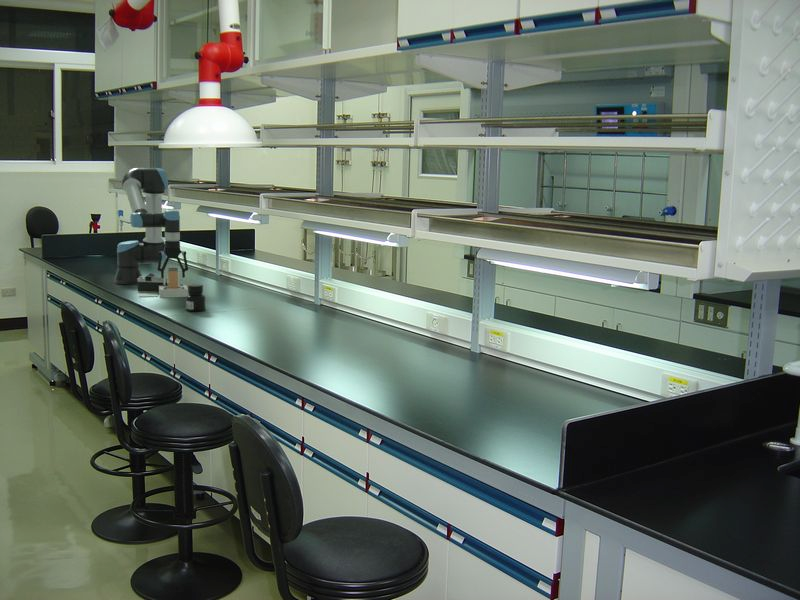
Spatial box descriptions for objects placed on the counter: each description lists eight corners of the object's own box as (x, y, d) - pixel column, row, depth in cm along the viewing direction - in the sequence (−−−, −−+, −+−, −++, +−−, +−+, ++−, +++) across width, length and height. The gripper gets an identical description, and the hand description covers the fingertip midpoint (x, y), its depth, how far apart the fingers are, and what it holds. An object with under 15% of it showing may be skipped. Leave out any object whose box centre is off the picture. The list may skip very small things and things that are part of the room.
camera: (171, 290, 432) (170, 272, 431) (166, 293, 424) (165, 274, 422) (142, 289, 433) (141, 271, 431) (136, 292, 424) (135, 273, 423)
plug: (168, 294, 421) (168, 267, 419) (177, 294, 422) (177, 267, 420) (168, 295, 417) (168, 269, 414) (178, 295, 418) (177, 268, 416)
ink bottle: (184, 308, 382) (184, 284, 380) (203, 308, 385) (203, 283, 383) (187, 312, 373) (187, 287, 371) (206, 311, 376) (206, 286, 374)
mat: (139, 294, 418) (138, 293, 418) (157, 293, 421) (157, 293, 421) (139, 297, 410) (139, 296, 410) (157, 296, 413) (157, 296, 413)
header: (158, 293, 424) (158, 284, 423) (186, 292, 428) (186, 283, 427) (159, 297, 411) (159, 288, 410) (188, 296, 415) (187, 287, 414)
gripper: (151, 241, 408) (152, 285, 412) (193, 241, 414) (194, 284, 418) (151, 239, 415) (152, 283, 419) (192, 239, 421) (193, 282, 425)
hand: (173, 284), depth 418 cm, fingers open, 8 cm apart
